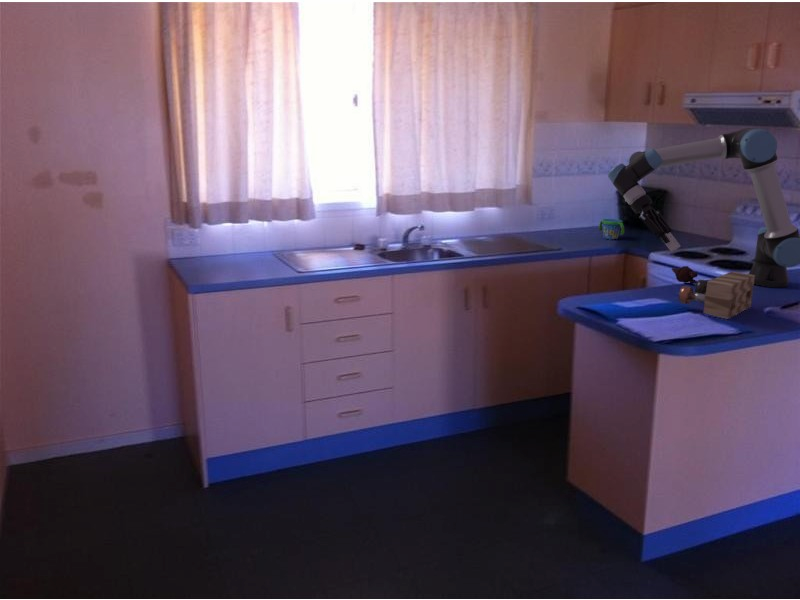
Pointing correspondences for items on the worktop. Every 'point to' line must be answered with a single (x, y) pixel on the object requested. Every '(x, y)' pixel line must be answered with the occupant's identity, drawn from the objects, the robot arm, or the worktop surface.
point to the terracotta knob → (690, 295)
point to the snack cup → (611, 228)
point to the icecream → (685, 274)
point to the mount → (729, 294)
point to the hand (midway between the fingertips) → (675, 248)
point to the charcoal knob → (701, 287)
